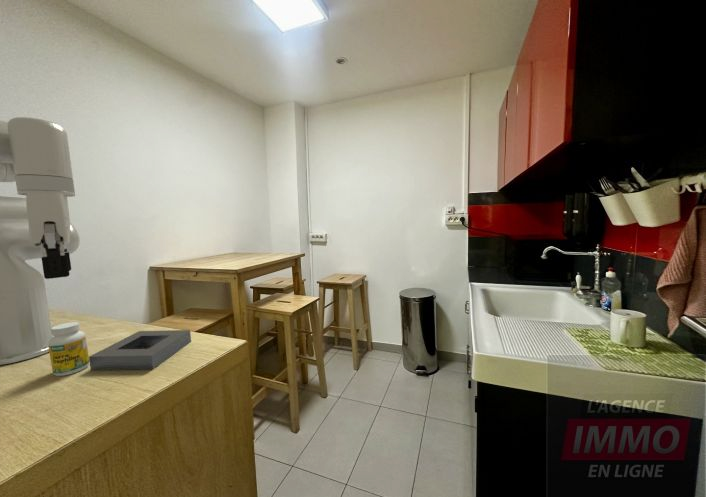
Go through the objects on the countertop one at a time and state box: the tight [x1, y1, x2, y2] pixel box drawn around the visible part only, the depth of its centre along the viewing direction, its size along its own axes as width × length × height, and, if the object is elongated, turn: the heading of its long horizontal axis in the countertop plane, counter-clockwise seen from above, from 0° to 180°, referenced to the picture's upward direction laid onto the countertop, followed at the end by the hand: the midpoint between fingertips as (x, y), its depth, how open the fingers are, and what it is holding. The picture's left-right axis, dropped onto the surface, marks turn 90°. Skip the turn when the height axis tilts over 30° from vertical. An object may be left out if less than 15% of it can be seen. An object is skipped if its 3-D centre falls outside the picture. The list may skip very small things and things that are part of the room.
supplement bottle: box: [48, 321, 90, 377], centre depth 56 cm, size 5×5×10 cm
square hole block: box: [89, 329, 192, 372], centre depth 63 cm, size 13×13×3 cm
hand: (59, 274), depth 55 cm, fingers open, 9 cm apart
